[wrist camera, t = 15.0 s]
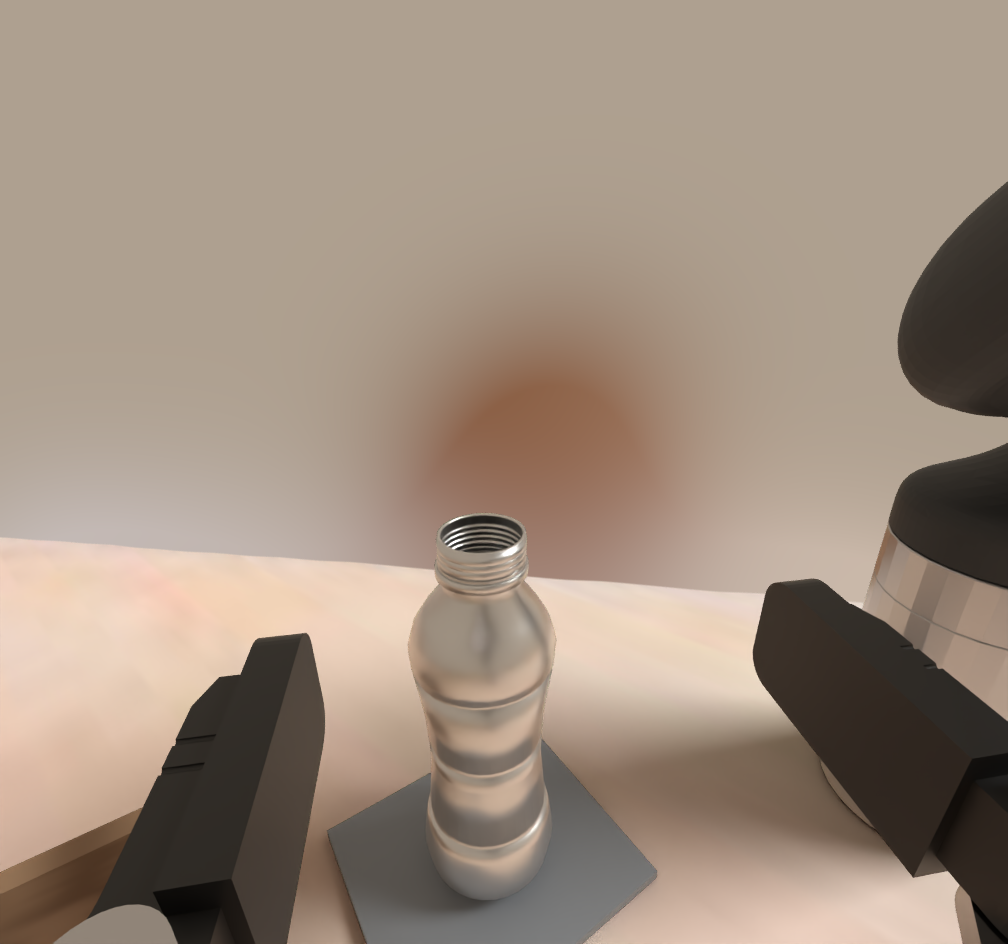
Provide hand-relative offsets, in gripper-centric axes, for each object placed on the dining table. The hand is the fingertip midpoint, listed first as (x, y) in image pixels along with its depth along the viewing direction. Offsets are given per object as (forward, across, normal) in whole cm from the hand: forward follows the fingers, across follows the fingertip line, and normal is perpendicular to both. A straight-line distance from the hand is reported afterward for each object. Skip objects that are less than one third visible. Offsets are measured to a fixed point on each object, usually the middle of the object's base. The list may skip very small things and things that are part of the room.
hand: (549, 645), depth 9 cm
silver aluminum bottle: (+11, 0, +25) cm, 27 cm away
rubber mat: (+11, 0, +25) cm, 27 cm away
